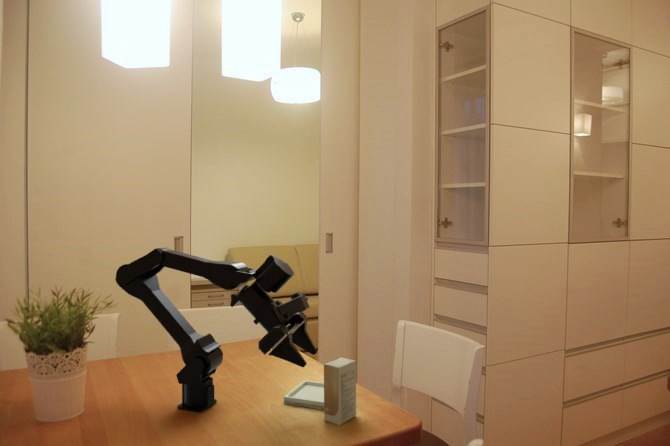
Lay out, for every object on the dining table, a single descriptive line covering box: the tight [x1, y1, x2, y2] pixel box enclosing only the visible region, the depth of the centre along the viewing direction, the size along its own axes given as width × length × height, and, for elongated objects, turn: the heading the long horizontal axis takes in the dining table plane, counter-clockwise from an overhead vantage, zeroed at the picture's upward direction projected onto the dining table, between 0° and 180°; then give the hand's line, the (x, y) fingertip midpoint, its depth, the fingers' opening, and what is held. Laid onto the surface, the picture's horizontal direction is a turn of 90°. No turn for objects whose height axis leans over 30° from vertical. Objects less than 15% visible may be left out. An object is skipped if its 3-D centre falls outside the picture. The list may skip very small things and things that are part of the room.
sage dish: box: [283, 379, 324, 411], centre depth 111 cm, size 12×12×2 cm
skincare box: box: [323, 357, 357, 426], centre depth 100 cm, size 6×4×12 cm
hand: (310, 359), depth 101 cm, fingers open, 9 cm apart
